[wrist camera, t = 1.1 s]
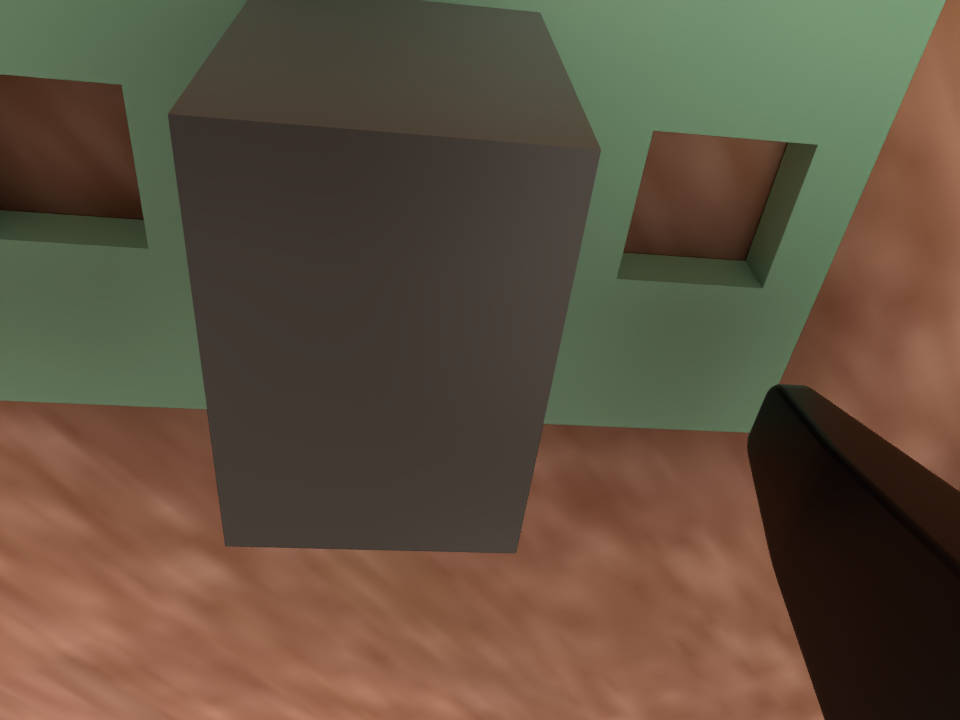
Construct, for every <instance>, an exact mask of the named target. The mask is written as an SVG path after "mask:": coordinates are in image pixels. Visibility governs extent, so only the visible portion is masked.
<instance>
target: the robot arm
mask: <svg viewBox="0 0 960 720" xmlns="http://www.w3.org/2000/svg"><path fill="white" fill-rule="evenodd" d="M747 451H748V457H749V462H750V467H751V471H752V476H753V481H754V485H755V490H756V494H757V499H758V504H759V508H760V513H761V517H762V522H763V527H764V531H765V536H766V540H767V545H768V549H769V553H770V557H771V561H772V565H773V568H774V571H775V575H776V578H777V581H778V584H779V587H780V590H781V593H782V596H783V599H784V602H785V605H786V608H787V610H788V613H789V616H790V619H791V622H792V625H793V628H794V631H795V634H796V637H797V640H798V643H799V646H800V649H801V652H802V655H803V657H804V660H805V663H806V666H807V669H808V672H809V675H810V678H811V681H812V684H813V687H814V690H815V693H816V696H817V699H818V702H819V704H820V707H821V710H822V713H823V716H824V719H825V720H960V491H958V490H957V489H955V488H954V487H952V486H951V485H950V484H948V483H947V482H945V481H944V480H942V479H941V478H940V477H938V476H937V475H935V474H934V473H932V472H931V471H929V470H928V469H927V468H925V467H924V466H922V465H921V464H919V463H918V462H916V461H915V460H914V459H912V458H911V457H909V456H908V455H906V454H905V453H904V452H902V451H901V450H899V449H898V448H896V447H895V446H893V445H892V444H891V443H889V442H888V441H886V440H885V439H883V438H882V437H880V436H879V435H878V434H876V433H875V432H873V431H872V430H870V429H869V428H868V427H866V426H865V425H863V424H862V423H860V422H859V421H857V420H856V419H855V418H853V417H852V416H850V415H849V414H847V413H846V412H845V411H843V410H842V409H840V408H839V407H837V406H836V405H834V404H833V403H832V402H830V401H829V400H827V399H826V398H824V397H823V396H822V395H820V394H819V393H817V392H816V391H814V390H813V389H811V388H810V387H807V386H803V385H785V384H777V385H774V386H772V387H771V388H770V389H769V390H768V392H767V393H766V395H765V398H764V400H763V402H762V405H761V407H760V409H759V412H758V414H757V416H756V419H755V421H754V424H753V426H752V428H751V431H750V433H749V437H748V443H747Z"/></svg>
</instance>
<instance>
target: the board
mask: <svg viewBox="0 0 960 720" xmlns="http://www.w3.org/2000/svg"><path fill="white" fill-rule="evenodd" d="M945 1H946V0H0V74H3V75H14V76H26V77H37V78H49V79H61V80H72V81H84V82H95V83H107V84H119V85H122V91H123V97H124V103H125V109H126V115H127V121H128V127H129V133H130V139H131V145H132V151H133V157H134V163H135V169H136V175H137V181H138V188H139V194H140V200H141V206H142V212H143V218H144V220H138V219H123V218H108V217H94V216H79V215H64V214H50V213H35V212H20V211H6V210H0V400H1V401H24V402H48V403H71V404H94V405H117V406H141V407H164V408H187V409H207V413H208V421H209V428H210V436H211V443H212V451H213V458H214V466H215V473H216V481H217V488H218V496H219V503H220V511H221V518H222V526H223V533H224V541H225V546H235V547H276V548H317V549H358V550H398V551H439V552H480V553H516V552H517V547H518V542H519V537H520V533H521V528H522V523H523V518H524V514H525V509H526V504H527V499H528V495H529V490H530V485H531V480H532V476H533V471H534V466H535V462H536V457H537V452H538V447H539V443H540V438H541V433H542V428H543V424H559V425H582V426H605V427H629V428H652V429H675V430H698V431H721V432H745V433H750V431H751V428H752V426H753V424H754V421H755V419H756V416H757V414H758V412H759V409H760V407H761V405H762V402H763V400H764V398H765V395H766V393H767V392H768V390H769V389H770V388H771V387H772V386H774V385H777V384H779V382H780V380H781V378H782V375H783V373H784V371H785V369H786V366H787V364H788V362H789V359H790V357H791V355H792V352H793V350H794V348H795V346H796V343H797V341H798V339H799V336H800V334H801V332H802V329H803V327H804V325H805V323H806V320H807V318H808V316H809V313H810V311H811V309H812V307H813V304H814V302H815V300H816V297H817V295H818V293H819V290H820V288H821V286H822V284H823V281H824V279H825V277H826V274H827V272H828V270H829V267H830V265H831V263H832V261H833V258H834V256H835V254H836V251H837V249H838V247H839V244H840V242H841V240H842V238H843V235H844V233H845V231H846V228H847V226H848V224H849V222H850V219H851V217H852V215H853V212H854V210H855V208H856V205H857V203H858V201H859V199H860V196H861V194H862V192H863V189H864V187H865V185H866V182H867V180H868V178H869V176H870V173H871V171H872V169H873V166H874V164H875V162H876V159H877V157H878V155H879V153H880V150H881V148H882V146H883V143H884V141H885V139H886V137H887V134H888V132H889V130H890V127H891V125H892V123H893V120H894V118H895V116H896V114H897V111H898V109H899V107H900V104H901V102H902V100H903V97H904V95H905V93H906V91H907V88H908V86H909V84H910V81H911V79H912V77H913V74H914V72H915V70H916V68H917V65H918V63H919V61H920V58H921V56H922V54H923V52H924V49H925V47H926V45H927V42H928V40H929V38H930V35H931V33H932V31H933V29H934V26H935V24H936V22H937V19H938V17H939V15H940V12H941V10H942V8H943V6H944V3H945ZM653 131H664V132H675V133H687V134H699V135H710V136H722V137H733V138H745V139H757V140H768V141H780V142H788V144H787V147H786V150H785V153H784V155H783V158H782V161H781V164H780V167H779V169H778V172H777V175H776V178H775V180H774V183H773V186H772V189H771V192H770V194H769V197H768V200H767V203H766V206H765V208H764V211H763V214H762V217H761V219H760V222H759V225H758V228H757V231H756V233H755V236H754V239H753V242H752V245H751V247H750V250H749V253H748V256H747V258H746V261H739V260H724V259H709V258H695V257H680V256H665V255H651V254H636V253H623V251H624V247H625V243H626V239H627V235H628V231H629V227H630V223H631V219H632V214H633V210H634V206H635V202H636V198H637V194H638V190H639V186H640V182H641V178H642V174H643V170H644V166H645V162H646V158H647V154H648V150H649V146H650V142H651V138H652V134H653Z"/></svg>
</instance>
